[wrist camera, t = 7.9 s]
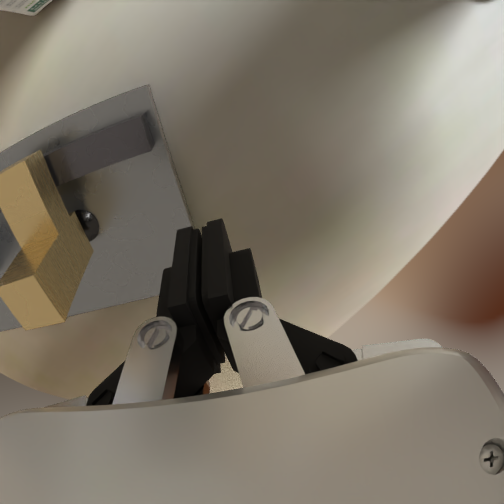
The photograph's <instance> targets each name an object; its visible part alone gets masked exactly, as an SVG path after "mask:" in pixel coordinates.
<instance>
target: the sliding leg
mask: <svg viewBox="0 0 504 504" xmlns="http://www.w3.org/2000/svg"><path fill="white" fill-rule="evenodd" d="M0 208H1V210H2V212H3V214H4V216H5V218H6V220H7V222H8V224H9V226H10V228H11V230H12V232H13V234H14V236H15V237H16V239H17V241H18V243H19V245H20V246H21V248H22V249H21V250H20V251H19V253H18V254H17V256H16V257H15V258H14V260H13V261H12V263H11V264H10V266H9V267H8V269H7V270H6V272H5V273H4V275H3V276H2V278H1V279H0V297H1V298H2V300H3V301H4V302H5V304H6V305H7V307H8V308H9V309H10V311H11V312H12V313H13V315H14V316H15V317H16V319H17V320H18V321H19V323H20V324H21V325H22V327H23V328H24V329H25V330H30V329H35V328H39V327H44V326H49V325H53V324H58V323H63V322H65V320H66V318H67V315H68V312H69V310H70V307H71V304H72V302H73V299H74V297H75V294H76V292H77V289H78V287H79V284H80V282H81V279H82V277H83V274H84V272H85V270H86V267H87V265H88V263H89V261H90V258H91V256H92V254H93V252H94V250H93V248H92V246H91V244H90V242H89V240H88V238H87V236H86V234H85V232H84V230H83V228H82V226H81V224H80V222H79V220H78V218H77V216H76V214H75V211H73V212H71V213H68V211H67V209H66V207H65V205H64V203H63V201H62V198H61V196H60V194H59V192H58V190H57V187H56V185H55V183H54V180H53V178H52V176H51V173H50V171H49V168H48V166H47V163H46V161H45V158H44V156H43V153H42V151H41V149H40V150H38V151H36V152H34V153H32V154H31V155H29V156H27V157H25V158H23V159H21V160H19V161H17V162H16V163H14V164H12V165H10V166H8V167H7V168H5V169H4V170H2V171H1V172H0Z"/></svg>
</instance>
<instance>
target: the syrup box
mask: <svg viewBox="0 0 504 504" xmlns="http://www.w3.org/2000/svg"><path fill="white" fill-rule="evenodd" d="M51 1H53V0H0V10H2V11H9V12H15V13H19V14H24V15H30V16H34V15H36V14H38V13H39V12H40V11H41V10H42V9H43V8H44V7H45V6H46V5H48V4H49V3H50V2H51Z"/></svg>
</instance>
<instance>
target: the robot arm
mask: <svg viewBox="0 0 504 504" xmlns="http://www.w3.org/2000/svg"><path fill="white" fill-rule="evenodd" d="M225 354H226V356H227V358H228V360H229V362H230V364H231V366H232V368H233V370H234V371H236V372H237V373H239V375H240V378H241V381H242V385H243V388H239V389H234V390H228V391H222V392H216V393H210V394H209V392H210V383H209V381H208V380H209V379H210V378H211V377H212V376H213V375H214V374H216V373H221V368H220V363H225ZM0 504H504V393H503V392H502V390H501V388H500V387H499V385H498V384H497V382H496V381H495V379H494V378H493V376H492V375H491V373H490V372H489V371H488V370H487V369H486V367H485V366H484V365H483V364H482V363H481V362H480V361H479V360H478V359H477V358H475V357H474V356H472V355H470V354H469V353H467V352H464V351H461V350H457V349H452V348H442V346H440V345H439V344H438V343H437V342H435V341H433V340H430V339H415V340H408V341H400V342H391V343H382V344H373V345H363V346H362V349H356V350H351V349H350V348H348V347H346V346H345V345H343V344H340V343H338V342H335V341H333V340H330V339H327V338H325V337H323V336H320V335H318V334H315V333H313V332H310V331H308V330H305V329H303V328H300V327H298V326H296V325H293V324H291V323H288V322H286V321H284V320H281V319H279V318H278V316H277V313H276V311H275V309H274V307H273V306H272V304H271V303H270V302H269V301H267V300H265V299H263V298H262V295H261V290H260V286H259V281H258V277H257V272H256V268H255V264H254V260H253V256H252V253H251V249H250V248H249V249H245V250H240V251H236V252H232V249H231V246H230V242H229V239H228V236H227V232H226V229H225V226H224V222H223V220H222V219H218V220H214V221H210V222H207V226H206V227H202V236H201V233H200V230H199V229H194V228H193V227H192V226H190V227H186V228H182V229H178V230H177V233H176V240H175V247H174V254H173V262H172V267H169V268H165V269H164V270H163V274H162V280H161V287H160V294H159V301H158V308H157V316H156V317H155V318H152V319H149V320H147V321H146V322H144V323H143V324H141V325H140V326H139V328H138V329H137V330H136V332H135V334H134V336H133V339H132V342H131V345H130V348H129V351H128V354H127V357H126V360H125V361H124V362H123V363H122V364H121V365H120V366H119V367H118V368H117V369H116V370H115V371H114V372H113V373H112V374H110V375H109V376H108V377H107V378H106V379H105V380H104V381H103V382H102V383H101V384H100V385H99V386H98V387H97V388H95V389H94V390H93V392H92V393H91V394H90V396H89V398H87V397H86V396H81V397H78V398H75V399H71V400H68V401H64V402H61V403H57V404H54V405H51V406H47V407H44V408H33V409H26V410H21V411H17V412H13V413H10V414H8V415H5V416H3V417H2V418H0Z"/></svg>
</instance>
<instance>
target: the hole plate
mask: <svg viewBox="0 0 504 504" xmlns="http://www.w3.org/2000/svg"><path fill="white" fill-rule="evenodd" d="M40 149H41V151H42V153H43V156H44V158H45V161H46V163H47V166H48V168H49V171H50V173H51V176H52V178H53V180H54V183H55V185H56V187H57V190H58V192H59V194H60V196H61V198H62V201H63V203H64V205H65V207H66V209H67V211H68V213H71V212H73V211H75V214H76V216H77V218H78V220H79V222H80V224H81V226H82V228H83V230H84V232H85V234H86V236H87V238H88V240H89V242H90V244H91V246H92V248H93V250H94V252H93V254H92V256H91V258H90V261H89V263H88V265H87V267H86V270H85V272H84V274H83V277H82V279H81V282H80V284H79V287H78V289H77V292H76V294H75V297H74V299H73V302H72V304H71V307H70V310H69V312H68V315H67V317H68V316H72V315H77V314H81V313H85V312H90V311H94V310H98V309H103V308H107V307H111V306H115V305H120V304H124V303H128V302H132V301H136V300H141V299H145V298H149V297H153V296H157V295H159V294H160V287H161V280H162V274H163V270H164V269H165V268H169V267H172V262H173V254H174V247H175V240H176V233H177V230H178V229H182V228H186V227H190V226H192V227H193V228H194V229H195V227H194V224H193V221H192V219H191V216H190V213H189V210H188V207H187V204H186V201H185V198H184V195H183V192H182V189H181V186H180V183H179V180H178V177H177V173H176V170H175V167H174V164H173V161H172V158H171V155H170V152H169V148H168V145H167V142H166V139H165V136H164V132H163V129H162V126H161V122H160V119H159V116H158V113H157V109H156V106H155V102H154V99H153V96H152V92H151V89H150V85H149V84H148V85H145V86H142V87H139V88H137V89H134V90H131V91H128V92H125V93H123V94H120V95H118V96H115V97H112V98H110V99H107V100H105V101H102V102H100V103H98V104H95V105H93V106H90V107H88V108H86V109H83V110H81V111H79V112H77V113H75V114H72V115H70V116H68V117H66V118H64V119H62V120H60V121H58V122H56V123H54V124H52V125H50V126H48V127H46V128H44V129H42V130H40V131H38V132H36V133H34V134H32V135H30V136H29V137H27V138H25V139H23V140H21V141H20V142H18V143H16V144H14V145H13V146H11V147H9V148H7V149H6V150H4V151H2V152H1V153H0V172H1V171H2V170H4V169H5V168H7V167H8V166H10V165H12V164H14V163H16V162H17V161H19V160H21V159H23V158H25V157H27V156H29V155H31V154H32V153H34V152H36V151H38V150H40ZM21 249H22V248H21V246H20V245H19V243H18V241H17V239H16V237H15V236H14V234H13V232H12V230H11V228H10V226H9V224H8V222H7V220H6V218H5V216H4V214H3V212H2V210H1V208H0V279H1V278H2V276H3V275H4V273H5V272H6V270H7V269H8V267H9V266H10V264H11V263H12V261H13V260H14V258H15V257H16V256H17V254H18V253H19V251H20V250H21ZM19 327H22V325H21V324H20V323H19V321H18V320H17V319H16V317H15V316H14V315H13V313H12V312H11V311H10V309H9V308H8V307H7V305H6V304H5V302H4V301H3V300H2V298H1V297H0V331H5V330H10V329H14V328H19Z"/></svg>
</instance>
